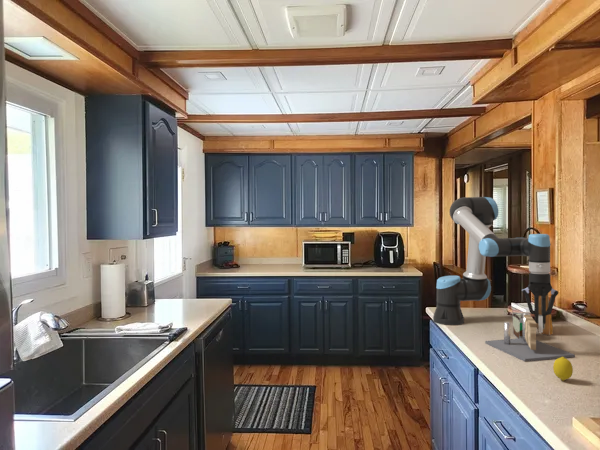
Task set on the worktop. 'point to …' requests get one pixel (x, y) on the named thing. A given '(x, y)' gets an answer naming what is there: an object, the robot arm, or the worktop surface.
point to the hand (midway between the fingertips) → (540, 331)
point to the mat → (529, 350)
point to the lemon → (563, 368)
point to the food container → (518, 324)
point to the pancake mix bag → (548, 325)
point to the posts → (507, 330)
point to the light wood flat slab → (530, 331)
